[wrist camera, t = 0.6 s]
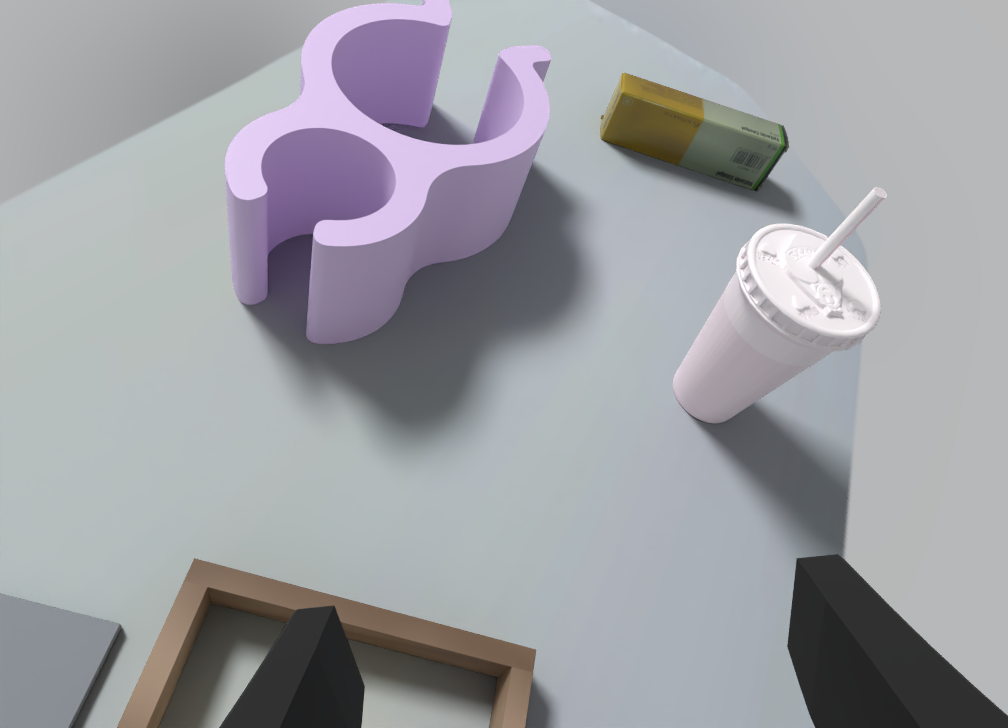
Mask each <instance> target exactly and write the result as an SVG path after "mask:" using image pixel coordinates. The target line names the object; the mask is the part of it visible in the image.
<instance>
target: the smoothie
mask: <svg viewBox="0 0 1008 728" xmlns="http://www.w3.org/2000/svg"><path fill="white" fill-rule="evenodd" d="M886 196H887V194H886V193H885V191H884V190H882V189H880V188H878V187H875V188H874V189H873V190H872V191H871V192H870V193H869V194H868V195H867V197H866V198H865V199H864V200H863V201H862V202H861V203H860V204H859V205H858V206H857V207H856V209H855V210H854V211H853V212H852V213H851V214H850V215H849V216H848V217H847V218H846V219H845V220H844V221H843V223H842V224H841V225H840V226H839V227H838V228H837V229H836V230H835V231H834V232H833V233H832V235H831V236H830V237H827V236H825V235H823V234H821V233H819V232H817V231H814V230H812V229H809V228H806V227H803V226H799V225H792V224H773V225H769V226H766V227H764V228H762V229H760V230H759V231H757V232H756V233H755V234H754V236H753V237H752V238H751V239H750V241H749V242H748V243H747V244H746V245H744V246H743V247H742V248H741V251H740V253H739V255H738V258H737V270H736V272H735V274H734V275H733V277H732V279H731V280H730V282H729V283H728V285H727V287H726V289H725V291H724V292H723V294H722V296H721V297H720V299H719V301H718V303H717V304H716V306H715V308H714V309H713V311H712V313H711V314H710V316H709V318H708V319H707V321H706V323H705V325H704V326H703V328H702V330H701V331H700V333H699V335H698V336H697V338H696V340H695V341H694V343H693V345H692V347H691V348H690V350H689V352H688V353H687V355H686V357H685V358H684V360H683V362H682V363H681V365H680V367H679V368H678V370H677V372H676V374H675V376H674V379H673V389H674V393H675V396H676V398H677V400H678V402H679V403H680V404H681V406H682V407H683V408H684V409H685V410H686V411H687V412H688V413H689V414H691V415H692V416H693V417H695V418H697V419H699V420H701V421H704V422H707V423H722V422H725V421H727V420H728V419H730V418H732V417H733V416H735V415H736V414H738V413H739V412H741V411H742V410H744V409H745V408H747V407H748V406H750V405H752V404H753V403H755V402H756V401H758V400H759V399H761V398H762V397H764V396H765V395H767V394H768V393H770V392H772V391H773V390H775V389H776V388H778V387H779V386H781V385H782V384H784V383H785V382H787V381H788V380H790V379H792V378H793V377H795V376H796V375H798V374H799V373H801V372H802V371H804V370H805V369H807V368H808V367H810V366H812V365H813V364H815V363H817V362H818V361H820V360H821V359H823V358H824V357H826V356H827V355H829V354H830V353H832V352H833V351H841V350H848V349H850V348H852V347H854V346H856V345H857V344H859V343H860V342H861V341H862V340H863V338H864V337H865V336H866V335H867V334H868V333H869V332H870V331H871V330H872V329H873V328H874V327H875V326H876V325H877V323H878V321H879V318H880V313H881V305H880V298H879V295H878V291H877V289H876V287H875V284H874V282H873V280H872V278H871V277H870V276H869V274H868V272H867V271H866V269H865V268H864V267H863V266H862V265H861V264H860V262H859V261H858V260H857V259H856V258H855V257H854V256H853V255H852V254H851V253H850V252H848V251H847V250H846V249H845V248H844V247H842V246H841V244H842V243H843V242H844V241H845V240H846V239H847V238H848V237H849V236H850V235H851V234H852V232H853V231H854V230H855V229H856V228H857V227H858V226H859V225H860V224H861V223H862V222H863V221H864V220H865V219H866V218H867V217H868V216H869V215H870V213H871V212H872V211H873V210H874V209H875V208H876V207H877V206H878V205H879V204H880V203H881V202H882V201H883V200H884V199H885V198H886Z"/></svg>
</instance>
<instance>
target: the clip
mask: <svg viewBox="0 0 1008 728" xmlns="http://www.w3.org/2000/svg"><path fill="white" fill-rule="evenodd" d="M451 19H452V11H451V7H450V4H449V0H423V1H422V6H415V5H407V4H392V3H383V4H370V5H362V6H357V7H352V8H349V9H345V10H342V11H340V12H337V13H335V14H333V15H331V16H329V17H327V18H326V19H324V20H323V21H321V22H320V23H319V24H318V25H317V26H316V27H315V28H314V29H313V30H312V31H311V32H310V34H309V35H308V37H307V39H306V41H305V43H304V46H303V49H302V56H301V77H300V97H299V98H298V99H297V100H296V101H295V102H294V103H293V104H291V105H290V106H288V107H286V108H284V109H281V110H278V111H275V112H272V113H269V114H267V115H264V116H262V117H260V118H258V119H256V120H254V121H252V122H251V123H249V124H248V125H246V126H245V127H244V128H243V129H242V130H240V131H239V133H238V134H237V135H236V136H235V137H234V139H233V140H232V142H231V144H230V145H229V148H228V150H227V153H226V158H225V178H226V194H227V209H228V225H229V241H230V257H231V272H232V282H233V287H234V290H235V293H236V295H237V297H238V299H239V301H240V302H242V303H243V304H246V305H254V304H257V303H259V302H262V301H263V300H265V299H266V297H267V295H268V254H269V253H270V252H271V250H272V249H273V248H274V247H276V246H277V245H278V244H280V243H281V242H283V241H285V240H287V239H289V238H292V237H295V236H299V235H305V234H313V245H312V258H311V272H310V285H309V299H308V313H307V326H306V337H307V338H308V340H309V341H311V342H312V343H316V344H336V343H343V342H349V341H353V340H356V339H359V338H362V337H364V336H367V335H369V334H371V333H373V332H374V331H376V330H378V329H379V328H380V327H382V326H383V325H384V324H385V323H387V322H388V321H389V320H390V318H391V317H392V316H393V315H394V313H395V312H396V310H397V309H398V307H399V305H400V303H401V300H402V296H403V292H404V288H405V285H406V283H407V281H408V280H409V278H410V277H411V276H412V275H413V274H414V273H415V272H417V271H418V270H419V269H421V268H423V267H425V266H428V265H431V264H435V263H442V262H450V261H455V260H459V259H463V258H466V257H469V256H472V255H475V254H477V253H479V252H481V251H483V250H484V249H486V248H488V247H489V246H490V245H492V244H493V243H494V242H495V241H496V240H497V239H498V238H499V237H500V236H501V235H502V234H503V233H504V231H505V230H506V228H507V226H508V225H509V222H510V220H511V217H512V215H513V212H514V210H515V207H516V204H517V202H518V199H519V197H520V194H521V191H522V189H523V186H524V184H525V181H526V178H527V176H528V173H529V171H530V168H531V165H532V163H533V160H534V158H535V155H536V153H537V150H538V147H539V145H540V142H541V140H542V137H543V134H544V132H545V129H546V127H547V124H548V120H549V114H550V105H549V98H548V94H547V91H546V89H545V86H544V84H543V81H544V78H545V75H546V72H547V69H548V67H549V64H550V61H551V58H552V57H551V54H550V53H549V52H548V50H547V49H545V48H544V47H542V46H538V45H532V46H513V47H509V48H507V49H504V50H502V51H500V52H499V55H498V59H497V62H496V66H495V69H494V73H493V76H492V79H491V83H490V86H489V90H488V93H487V97H486V100H485V103H484V107H483V110H482V114H481V117H480V121H479V124H478V128H477V131H476V134H475V138H474V141H473V144H468V145H447V144H438V143H431V142H426V141H422V140H418V139H414V138H411V137H408V136H405V135H402V134H400V133H397V132H395V131H392V130H390V129H388V128H386V127H384V126H382V125H380V124H384V123H394V124H405V125H411V126H416V127H425V126H427V124H428V121H429V118H430V114H431V109H432V105H433V100H434V96H435V91H436V87H437V82H438V78H439V73H440V69H441V64H442V60H443V55H444V51H445V46H446V42H447V37H448V33H449V28H450V23H451Z"/></svg>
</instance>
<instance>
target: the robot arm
mask: <svg viewBox="0 0 1008 728" xmlns="http://www.w3.org/2000/svg"><path fill="white" fill-rule="evenodd" d="M787 647H788V650H789V653H790V656H791V659H792V662H793V666H794V669H795V672H796V675H797V678H798V681H799V684H800V687H801V690H802V693H803V696H804V699H805V702H806V705H807V708H808V711H809V714H810V716H811V719H812V721H813V723H814V726H815V728H1008V716H1007V715H1006V714H1005V713H1004V712H1003V711H1002V710H1000V709H999V708H998V707H997V706H996V705H995V704H994V703H993V702H991V701H990V700H989V699H988V698H987V697H985V695H984V694H982V693H981V692H980V691H979V690H978V689H977V688H976V687H974V685H972V684H971V683H970V682H969V681H968V680H967V679H966V678H965V677H964V676H963V675H962V674H961V673H959V672H958V671H957V670H956V669H955V668H954V667H953V666H952V665H951V664H950V663H949V662H948V661H946V660H945V659H944V658H943V657H942V656H941V655H940V654H939V653H938V652H937V651H936V650H935V649H934V648H932V647H931V646H930V645H929V644H928V643H927V642H926V641H925V640H924V639H923V638H922V637H921V636H920V635H919V634H918V633H917V632H916V631H915V630H914V629H913V628H912V627H911V626H910V625H908V623H907V622H906V621H905V620H904V619H902V617H901V616H899V614H897V612H895V611H894V610H893V609H892V608H891V607H890V606H889V605H888V604H887V603H886V602H885V601H884V599H882V598H881V596H880V595H878V593H877V592H876V591H875V590H874V589H873V588H872V587H870V585H869V584H868V583H867V582H866V581H865V580H864V579H863V578H862V577H861V576H860V575H859V574H858V573H857V572H856V571H855V570H854V569H853V568H852V567H851V566H850V565H849V564H848V563H847V562H846V561H845V560H844V559H843V558H842V557H841V556H839V555H838V554H836V555H826V556H816V557H807V558H797V562H796V571H795V581H794V590H793V599H792V609H791V618H790V627H789V637H788V646H787ZM364 688H365V686H364V683H363V681H362V678H361V675H360V673H359V670H358V667H357V665H356V662H355V659H354V656H353V654H352V651H351V648H350V646H349V643H348V640H347V638H346V635H345V632H344V630H343V627H342V624H341V622H340V619H339V616H338V614H337V611H336V608H335V606H334V605H333V606H324V607H314V608H304V609H297V610H296V611H295V612H294V613H293V614H292V616H291V618H290V619H289V621H288V622H287V624H286V625H285V627H284V629H283V630H282V632H281V633H280V635H279V637H278V638H277V640H276V641H275V643H274V645H273V646H272V648H271V649H270V651H269V653H268V654H267V656H266V657H265V659H264V661H263V662H262V664H261V665H260V667H259V668H258V670H257V672H256V673H255V675H254V676H253V678H252V679H251V681H250V682H249V684H248V685H247V687H246V689H245V690H244V692H243V693H242V695H241V696H240V698H239V699H238V701H237V702H236V704H235V705H234V707H233V708H232V710H231V711H230V712H229V714H228V715H227V717H226V718H225V720H224V721H223V723H222V724H221V726H220V727H219V728H361V725H362V713H363V701H364Z"/></svg>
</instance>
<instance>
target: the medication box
mask: <svg viewBox="0 0 1008 728" xmlns="http://www.w3.org/2000/svg"><path fill="white" fill-rule="evenodd" d="M601 119H602V121H601V127H600V134H601V140H603V141H606V142H609V143H612V144H615V145H618V146H621V147H624V148H627V149H630V150H633V151H636V152H639V153H642V154H645V155H648V156H651V157H654V158H657V159H660V160H663V161H666V162H669V163H672V164H675V165H678V166H681V167H684V168H687V169H690V170H693V171H696V172H699V173H702V174H705V175H708V176H711V177H714V178H717V179H720V180H723V181H726V182H729V183H732V184H735V185H738V186H741V187H744V188H748V189H751V190H754V191H758V190H759V189H760V188H761V187H762V184H763V183H764V181H765V180H766V178H767V177H768V175H769V174H770V172H771V171H772V170H773V168H774V167H775V165H776V164H777V162H778V161H779V159H780V158H781V157H782V155H783V154H784V152H787V149H788V148H789V142H788V137H787V134H786V130H785V128H784V126H782V125H780V124H777V123H774V122H771V121H768V120H765V119H762V118H759V117H756V116H753V115H750V114H747V113H744V112H741V111H738V110H735V109H732V108H729V107H726V106H723V105H720V104H717V103H714V102H711V101H708V100H705V99H702V98H699V97H696V96H693V95H690V94H687V93H684V92H681V91H678V90H675V89H672V88H669V87H666V86H663V85H660V84H657V83H654V82H651V81H648V80H645V79H642V78H639V77H636V76H633V75H630V74H627V73H622V75H621V77H620V80H619V82H618V84H617V86H616V89H615V91H614V93H613V95H612V98H611V100H610V102H609V105H608V107H607V110H606V112H605V114H604V115H602V117H601Z"/></svg>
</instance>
